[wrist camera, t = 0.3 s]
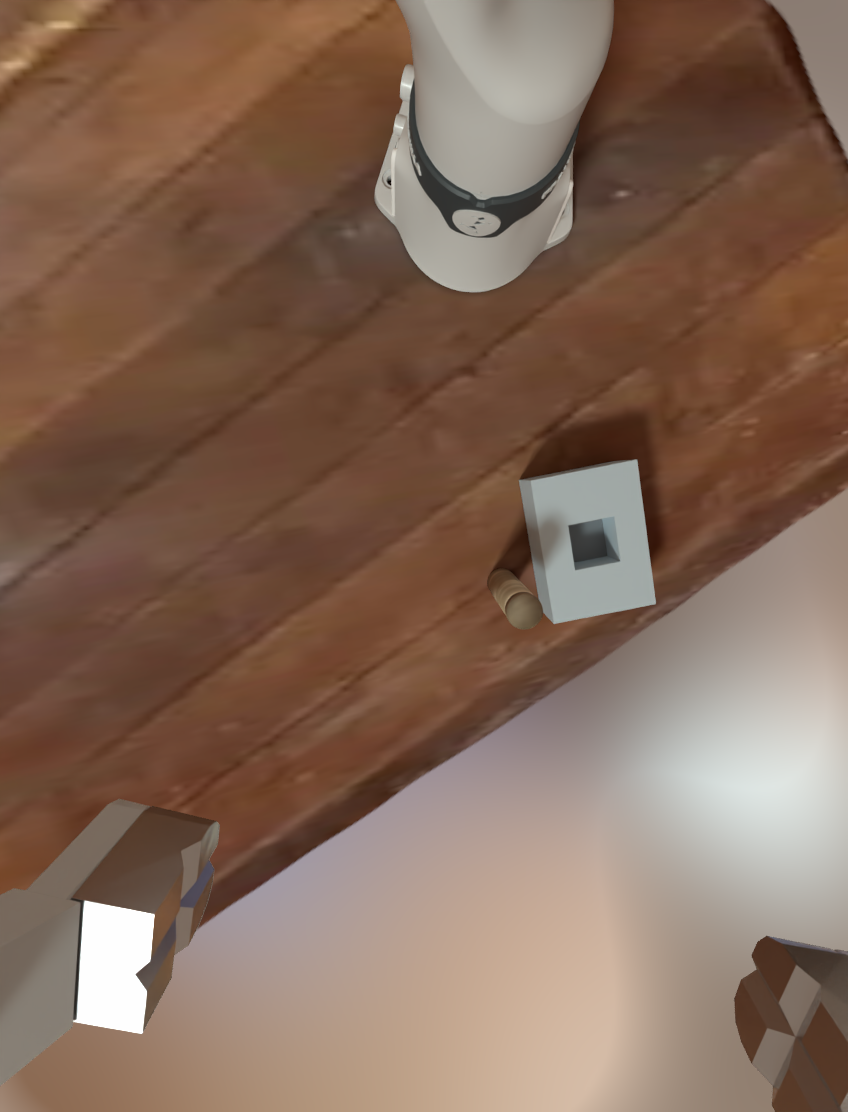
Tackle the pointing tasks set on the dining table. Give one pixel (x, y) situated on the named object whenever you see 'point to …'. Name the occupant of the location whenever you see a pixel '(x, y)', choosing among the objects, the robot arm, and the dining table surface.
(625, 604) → the socket block
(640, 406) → the dining table surface
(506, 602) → the dowel pin
